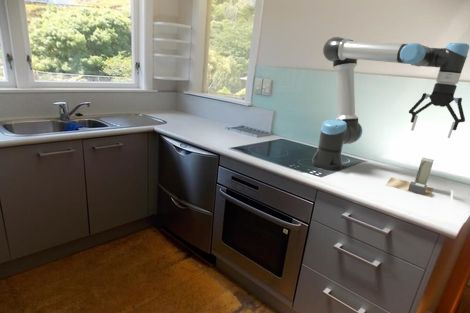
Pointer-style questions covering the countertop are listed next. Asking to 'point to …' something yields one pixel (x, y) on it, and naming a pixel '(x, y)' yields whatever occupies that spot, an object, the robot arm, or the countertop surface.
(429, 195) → the board
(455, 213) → the countertop surface
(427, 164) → the box
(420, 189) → the gray block
